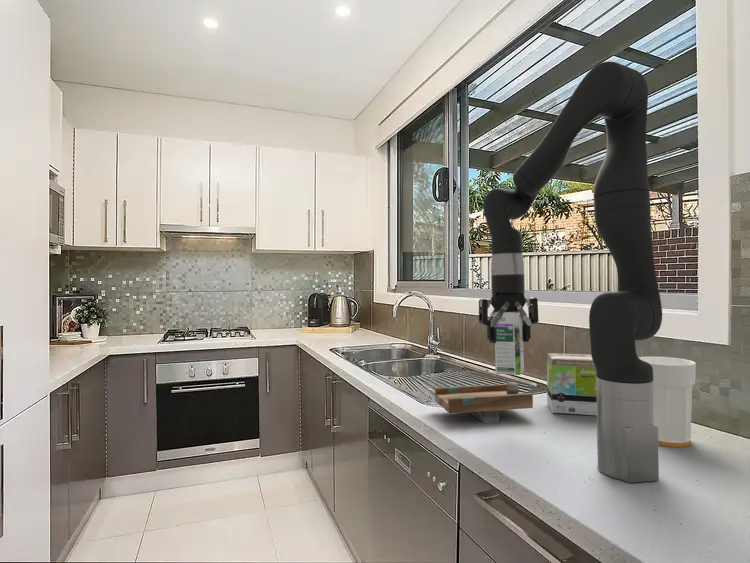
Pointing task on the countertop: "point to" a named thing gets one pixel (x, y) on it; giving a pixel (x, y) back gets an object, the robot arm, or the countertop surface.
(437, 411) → the countertop surface
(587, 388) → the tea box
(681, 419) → the cup
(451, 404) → the beam
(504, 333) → the syrup box
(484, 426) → the countertop surface
